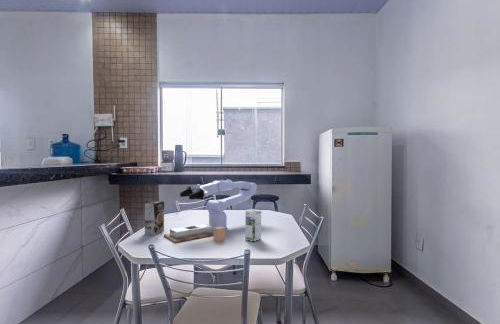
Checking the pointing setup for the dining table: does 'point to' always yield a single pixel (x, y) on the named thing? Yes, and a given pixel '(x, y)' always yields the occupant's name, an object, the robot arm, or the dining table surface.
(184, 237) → the board
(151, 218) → the coffee box
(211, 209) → the robot arm
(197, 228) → the white square hole block
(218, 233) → the peg
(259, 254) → the dining table surface
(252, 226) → the syrup box
